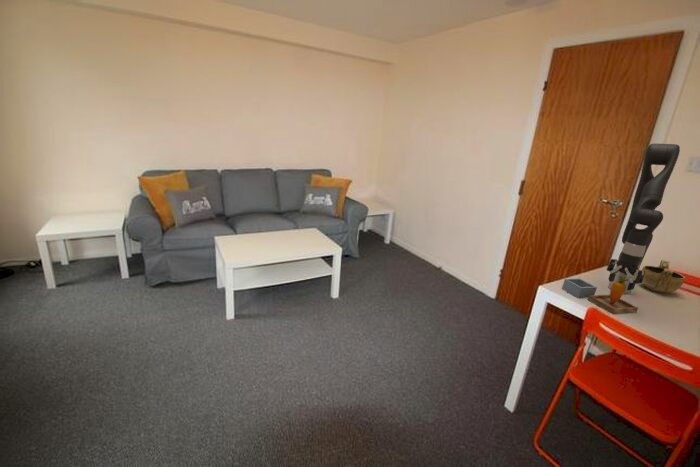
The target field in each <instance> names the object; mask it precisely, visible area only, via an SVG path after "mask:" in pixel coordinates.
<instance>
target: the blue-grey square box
mask: <svg viewBox="0 0 700 467" xmlns="http://www.w3.org/2000/svg"><path fill="white" fill-rule="evenodd" d="M597 289H598V287H597V286H595V285H593V284H591V283H590V282H588V281H586V280H584V279H582V278H564V280H563V283H562V287H561V290H563V291H565V292H567V293H569V294H571V295H572V296H573V297H574V298H577V299H588V297H589V296H590V295H596V291H597Z"/></svg>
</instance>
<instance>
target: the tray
mask: <svg viewBox="0 0 700 467" xmlns="http://www.w3.org/2000/svg"><path fill="white" fill-rule="evenodd" d="M587 301H588V302H591V303H592V304H594V305H596V306H598V307H599V308H601V309H602V310H605V311H607V313H610V314H611V315H617V314H637V312H638V309H639V307H637V306H635V305H634V304H631V303H629V302H627V301H626V300H623V299H622V298H620V299H619V300H618V301H617V302H616V303H614V304H611V301H610V294H597V295H596V294H595V295H590V296H589V297H588V298H587Z"/></svg>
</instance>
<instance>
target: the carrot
mask: <svg viewBox="0 0 700 467" xmlns="http://www.w3.org/2000/svg"><path fill="white" fill-rule="evenodd" d="M622 277H623V276H622V275H621V276H619V281H615V282H613V285H612V288H611V289H610V292H609V295H610V301H611V304H614V303H616V302H617V301H618V300H619V299H622V296H623V295H624V291H625V289H626V285H625V283H623V282H624V281H628V280H629V279H625V278H626V277H627V276H625V277H624V278H623V279H622ZM624 279H625V280H624Z"/></svg>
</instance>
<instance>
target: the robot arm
mask: <svg viewBox="0 0 700 467" xmlns="http://www.w3.org/2000/svg"><path fill="white" fill-rule="evenodd" d="M680 149H681V148H680V145H679V144H675V143H650V144H649V145H648V146H647V148H646V149H645V153H644V158H643V162H642V167H641V168H642V169H641V173H640V178H639V181H638V184H637V187H636V190H635V193H634V197H633V201H632V206H631V209H630V210H631V211H630V213H629V217H628V220H627V222H626V225H625V229H624V231H623V234H622V237H621V238H622V239H621V242H622V243H621V244H623V246H622V249H621V251H620V254H619V255H618V259H616V258H611V259H609V260H610V261H609V263H608V265H607V267H606V271H607V272H609V276H608V284H607V287H608V289H610V290H611V288H612V285H613V282H615V281H619V276H621V275H622V276H623V277H622V279H623V278H624V277H625V276H627V277H626V278H625V279H629V280H628V281H624V282H623V283H625V285H626V289H625V291H624V293H623V295H624V294H626V295H627V294H628V295H629V294H630V293H631V292H632V290H634V289H635V287H636V284H637V285H638V284H643V283H642V281H643V278H644V275H645V271H642V269H640V268H641V265H642V264H643V261H644V257H645V256H646V253H647V251H648V249H649V247H650V245H651V243H652V241H653V237H654V234H653V233H654V231H655V230H656V229H657V228H658V226H660V225H661V223H662V222H663V220H664V213H663V212H662V211H660V210H657V208H658V207H659V206H660V205H661V204H662V201H663V199H664V198H663V196H664V194H665V189H666V187H667V184H668V182H669V180H670V178H671V176H672V174H673V170H674V169H675V166H676V164H677V161H678V158H679V155H680ZM652 165H654V166H664V167H663V169H662V170H661V171H660V172H659V173H658V174H656V175H655V176H654V174H653V170H652ZM637 225H641V226H646V227H645V228H641V229H640V228H637ZM625 279H624V280H625Z"/></svg>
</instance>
